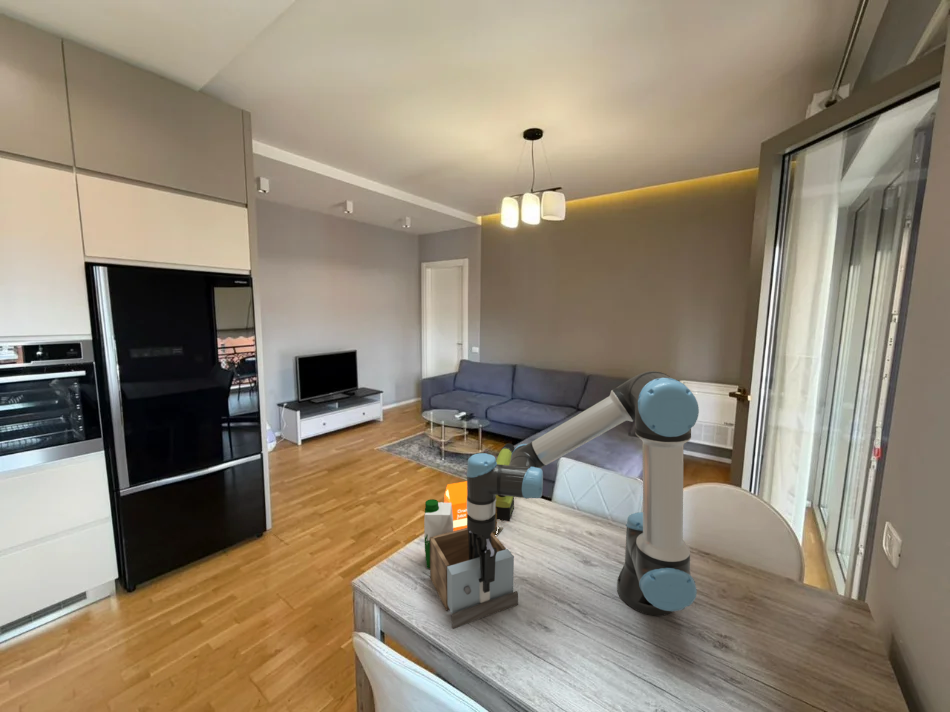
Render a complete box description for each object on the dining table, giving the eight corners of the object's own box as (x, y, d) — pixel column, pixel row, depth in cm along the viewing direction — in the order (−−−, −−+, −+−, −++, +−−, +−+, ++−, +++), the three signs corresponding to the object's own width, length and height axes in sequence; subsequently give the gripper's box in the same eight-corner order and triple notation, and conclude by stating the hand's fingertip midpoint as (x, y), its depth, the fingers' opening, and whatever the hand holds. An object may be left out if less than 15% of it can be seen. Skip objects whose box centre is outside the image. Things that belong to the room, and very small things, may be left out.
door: (515, 596, 105) (516, 558, 104) (454, 617, 98) (453, 578, 96) (507, 584, 109) (507, 548, 108) (447, 605, 102) (447, 566, 100)
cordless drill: (502, 493, 168) (502, 438, 164) (518, 495, 166) (519, 439, 163) (489, 522, 145) (490, 458, 142) (508, 524, 144) (509, 460, 140)
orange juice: (444, 532, 139) (443, 479, 136) (467, 527, 142) (467, 476, 139) (450, 545, 131) (450, 489, 129) (474, 539, 135) (475, 485, 132)
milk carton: (426, 552, 127) (425, 495, 125) (454, 552, 127) (453, 495, 125) (423, 570, 119) (422, 509, 116) (452, 570, 119) (452, 509, 116)
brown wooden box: (519, 604, 105) (520, 560, 104) (453, 628, 97) (452, 581, 96) (487, 560, 123) (487, 522, 122) (428, 578, 115) (427, 537, 114)
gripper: (509, 526, 95) (508, 612, 98) (480, 496, 110) (480, 572, 113) (482, 533, 92) (481, 622, 95) (456, 501, 107) (456, 579, 110)
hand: (481, 594), depth 104 cm, fingers closed on door, 3 cm apart
